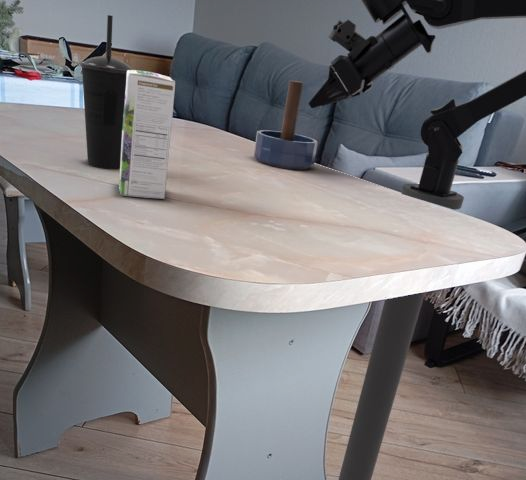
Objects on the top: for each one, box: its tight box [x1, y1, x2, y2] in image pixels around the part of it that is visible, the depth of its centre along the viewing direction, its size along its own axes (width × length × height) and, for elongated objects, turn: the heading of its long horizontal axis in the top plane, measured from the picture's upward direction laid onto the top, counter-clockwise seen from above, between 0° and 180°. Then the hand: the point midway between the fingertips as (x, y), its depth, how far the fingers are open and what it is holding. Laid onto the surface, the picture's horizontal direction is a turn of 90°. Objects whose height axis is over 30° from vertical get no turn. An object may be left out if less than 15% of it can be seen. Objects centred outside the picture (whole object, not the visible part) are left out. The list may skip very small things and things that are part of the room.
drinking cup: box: [79, 14, 135, 170], centre depth 88 cm, size 8×8×20 cm
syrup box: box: [118, 69, 176, 200], centre depth 78 cm, size 6×6×14 cm
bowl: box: [253, 129, 319, 171], centre depth 117 cm, size 11×11×5 cm
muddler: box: [280, 79, 304, 141], centre depth 114 cm, size 3×3×14 cm
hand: (315, 104), depth 112 cm, fingers open, 9 cm apart
